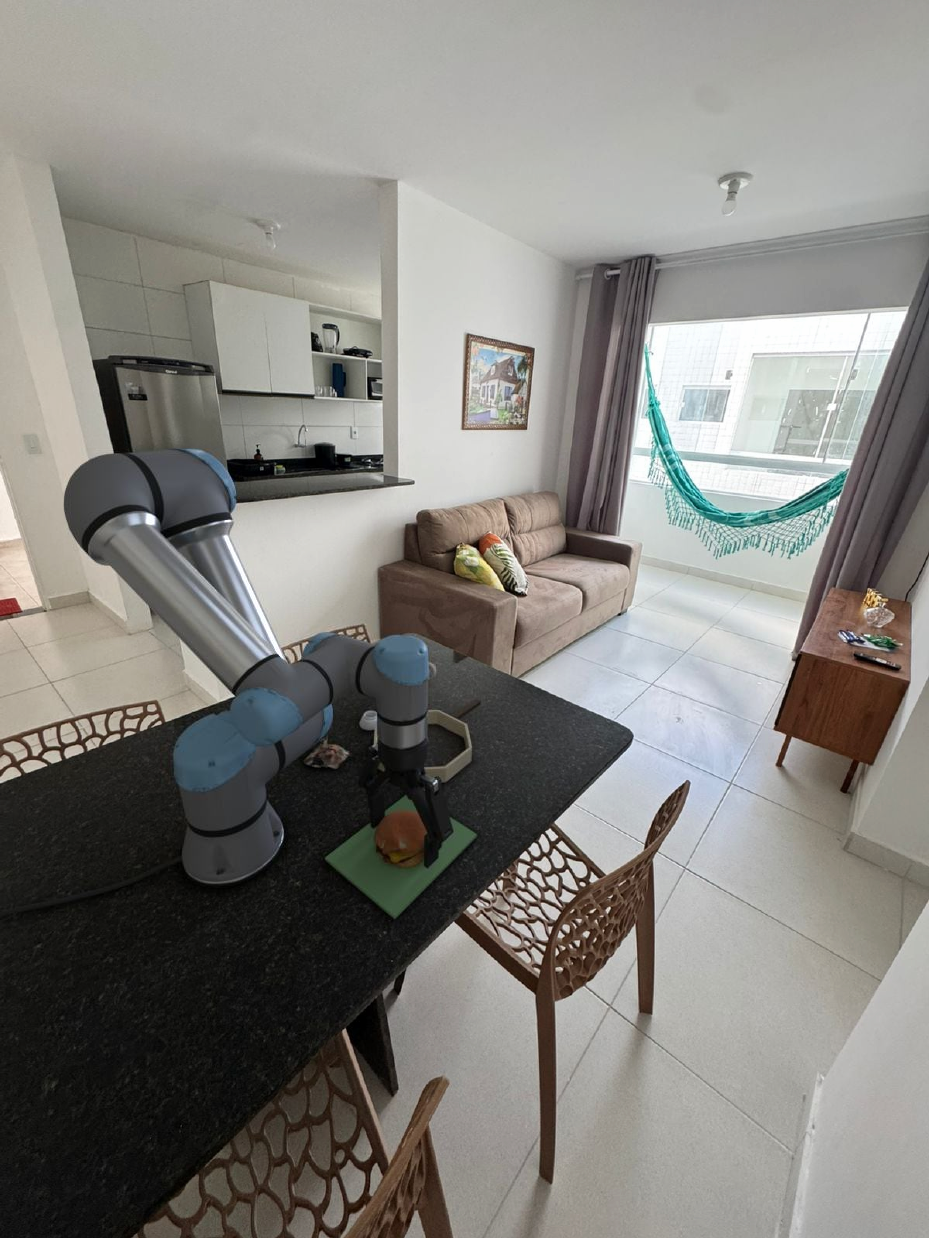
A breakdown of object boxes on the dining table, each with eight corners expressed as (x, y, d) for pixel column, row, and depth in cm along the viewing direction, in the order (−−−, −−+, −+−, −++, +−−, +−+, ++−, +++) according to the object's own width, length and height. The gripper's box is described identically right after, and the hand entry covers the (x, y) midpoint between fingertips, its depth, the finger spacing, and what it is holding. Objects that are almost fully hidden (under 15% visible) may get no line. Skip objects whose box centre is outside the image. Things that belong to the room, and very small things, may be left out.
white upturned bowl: (357, 731, 115) (380, 732, 115) (357, 720, 114) (379, 721, 114) (362, 718, 119) (383, 719, 120) (361, 707, 118) (383, 708, 118)
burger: (421, 817, 92) (421, 797, 90) (441, 857, 84) (441, 836, 82) (367, 834, 88) (366, 814, 86) (382, 878, 80) (382, 856, 78)
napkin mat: (394, 919, 74) (394, 916, 74) (324, 860, 83) (324, 857, 83) (477, 836, 89) (477, 834, 89) (410, 793, 98) (410, 791, 98)
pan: (425, 798, 97) (425, 784, 95) (354, 753, 108) (353, 739, 106) (512, 727, 119) (513, 715, 117) (446, 696, 130) (446, 684, 128)
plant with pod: (318, 737, 112) (311, 657, 104) (357, 756, 107) (353, 673, 99) (289, 757, 106) (279, 673, 98) (329, 778, 101) (322, 691, 93)
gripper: (481, 757, 73) (474, 866, 82) (367, 696, 86) (371, 795, 95) (447, 785, 67) (443, 899, 76) (331, 715, 81) (339, 819, 89)
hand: (403, 841), depth 86 cm, fingers open, 12 cm apart
